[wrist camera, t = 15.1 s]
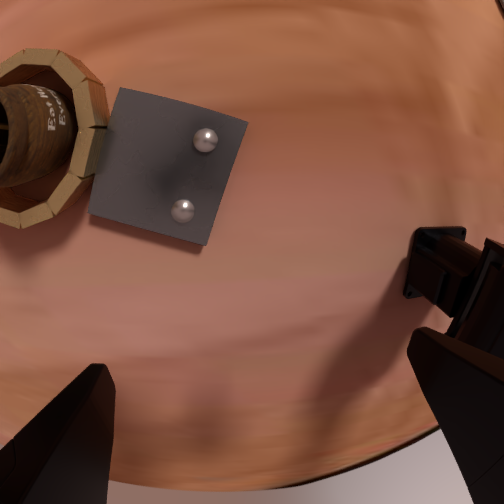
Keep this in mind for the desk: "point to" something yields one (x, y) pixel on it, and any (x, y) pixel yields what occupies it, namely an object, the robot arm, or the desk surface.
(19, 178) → the utensil holder
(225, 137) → the wooden ring bracket
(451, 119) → the desk surface
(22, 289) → the desk surface
